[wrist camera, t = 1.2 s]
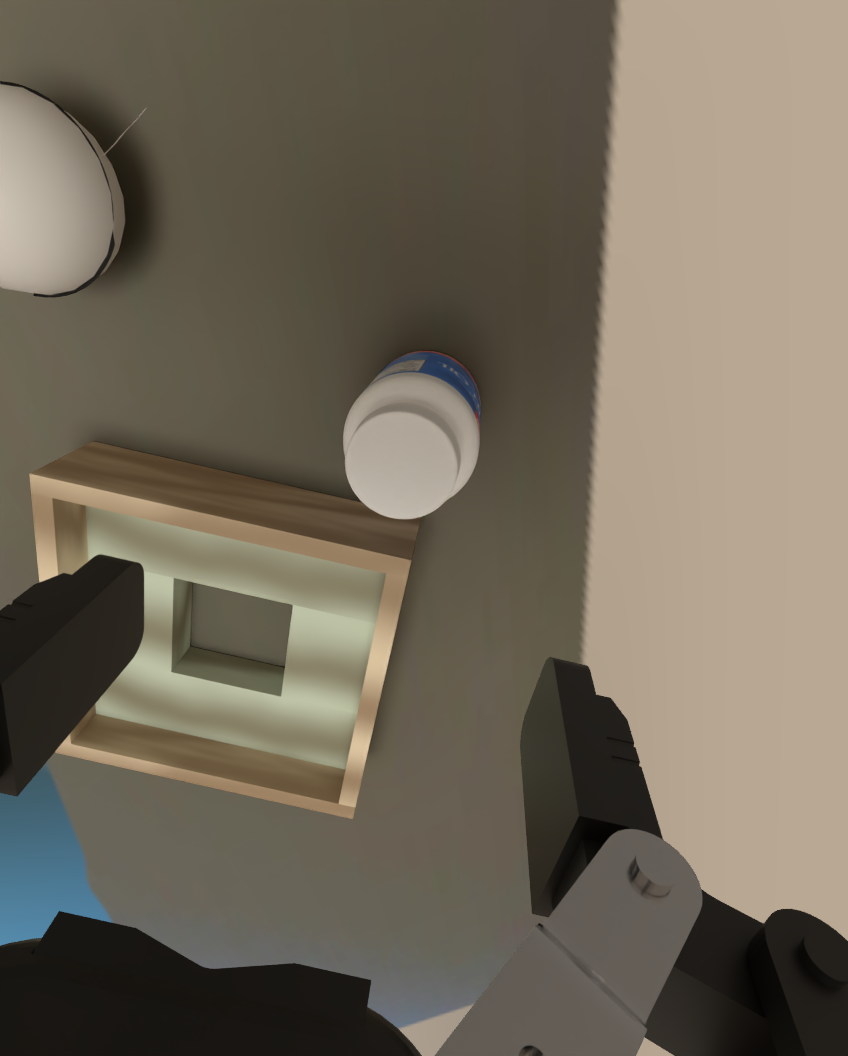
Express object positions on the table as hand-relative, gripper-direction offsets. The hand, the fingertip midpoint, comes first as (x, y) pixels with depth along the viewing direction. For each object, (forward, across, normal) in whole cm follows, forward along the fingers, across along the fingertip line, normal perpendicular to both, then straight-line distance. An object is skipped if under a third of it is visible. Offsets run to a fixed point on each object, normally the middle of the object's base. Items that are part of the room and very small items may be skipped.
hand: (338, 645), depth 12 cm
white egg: (+20, +16, -6) cm, 26 cm away
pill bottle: (+20, 0, 0) cm, 20 cm away
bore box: (+20, +8, +15) cm, 26 cm away
